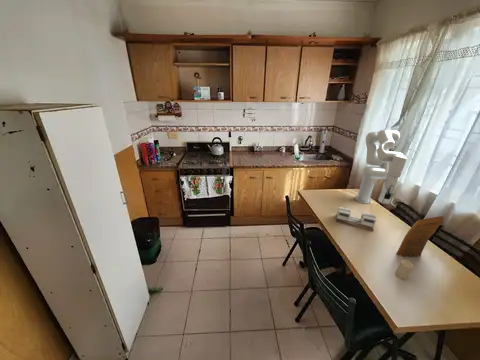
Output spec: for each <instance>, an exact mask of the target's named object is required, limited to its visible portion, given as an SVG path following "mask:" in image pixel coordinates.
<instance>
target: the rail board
mask: <svg viewBox="0 0 480 360" xmlns="http://www.w3.org/2000/svg"><path fill="white" fill-rule="evenodd" d="M351 211H352V210H351V208H346V207H343V206H342V207H341V206H338V208H337V212H336V218H335V219H336V220H335V222H336V223H340V224H343V225H347V226H350V227H351V226H352V227H353V228H354V227H356V228H359V229H363V230H365V231H366V230H367V231H371V232H374V229H375V225H376V223H377V217H376V214H374V213H368V212H364V211H363V212H362V213H361V216H360V218H358V217H353V216H351V214H352V212H351Z"/></svg>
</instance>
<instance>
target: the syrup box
mask: <svg viewBox="0 0 480 360" xmlns="http://www.w3.org/2000/svg"><path fill="white" fill-rule="evenodd" d="M385 184H386V183H385V181H383V184H382V187H381V190H380V192H379V195H378V198H377V200H378V202H380V203H381V205H382V204H384V205H391V202H392V200H393V197H394V195H395V192H396V190H397V185H396V186H395V189H394V190H393V191H392V194H391V197H390V199H384V197H385V194H386V193H387V190H386V189H385ZM389 190H390V188H389ZM389 190H388V192H389Z"/></svg>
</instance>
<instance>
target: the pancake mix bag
mask: <svg viewBox="0 0 480 360" xmlns="http://www.w3.org/2000/svg"><path fill="white" fill-rule="evenodd" d="M443 221H444V216H441V215H439V216H434V217H430V218H424V219H423V218H422V219H421V218H420V219H418V220H417V221H415V222H414V223H413V225H412V226H411V227H410V228H409V230H408V231H407V232H406V234H405V235H404V237H403V239H402V242H401V244H400V246H399V248H398V250H397V251H396V253H395V254H396V255H397V256H399V257H401V258H414V257H415V258H416V257H421V256H422V253H423V251H424V249H425V247H426V245H427V243H428V240H430V238H431V236H433V235H434V234H435V233H436V231H437V229H438V228H439V226H441V224H442V223H443Z"/></svg>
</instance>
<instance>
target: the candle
mask: <svg viewBox="0 0 480 360" xmlns="http://www.w3.org/2000/svg"><path fill="white" fill-rule="evenodd" d="M414 267H415V266H414V264H413V263H412V262H411V260H409V259H401V260H400V262H399V264H398V266H397V269H396V270H395V276H396V277H398V278H399V279H400V280H402V281H407V280H408V279H409V277H410V275H411V274H412V271H413V269H414Z"/></svg>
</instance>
